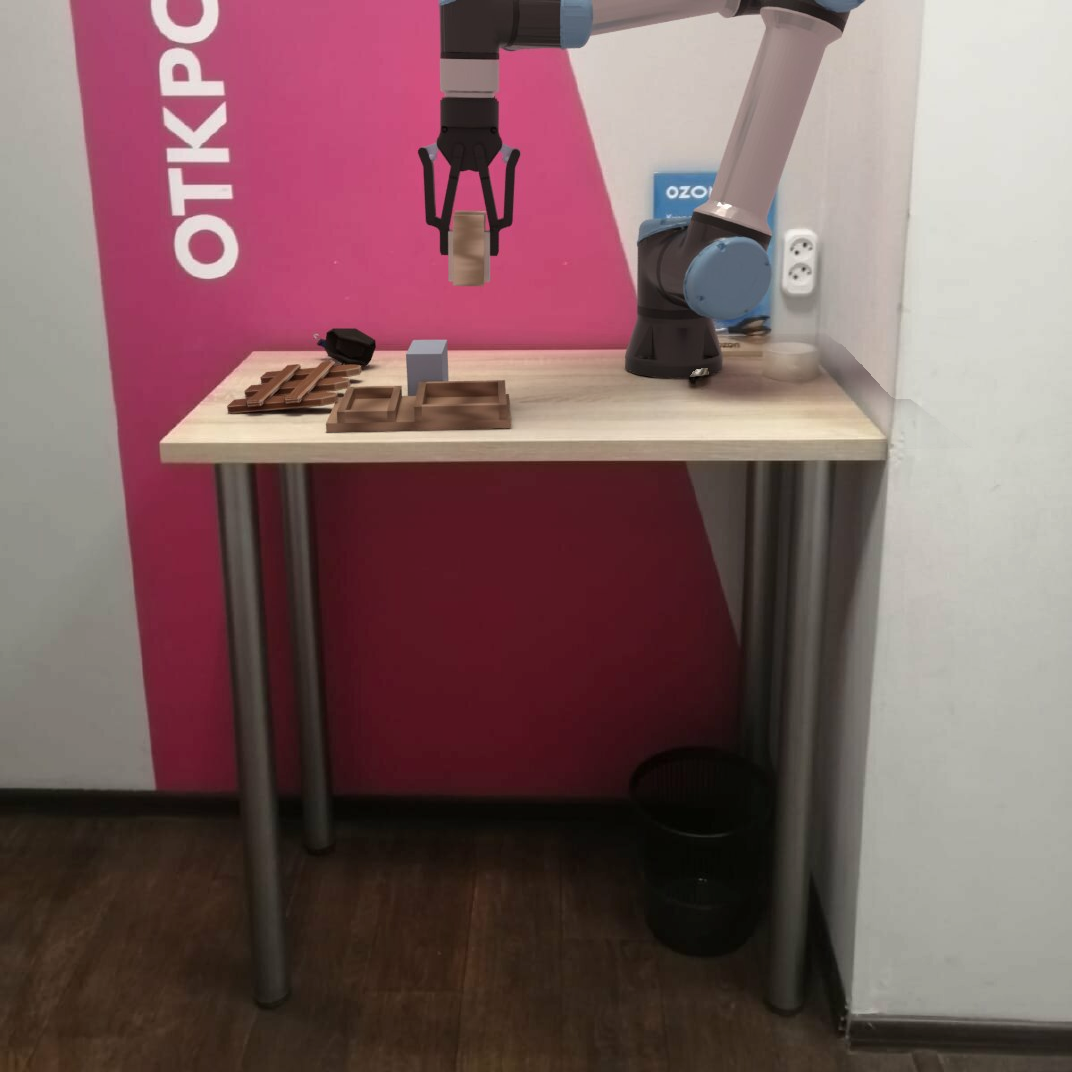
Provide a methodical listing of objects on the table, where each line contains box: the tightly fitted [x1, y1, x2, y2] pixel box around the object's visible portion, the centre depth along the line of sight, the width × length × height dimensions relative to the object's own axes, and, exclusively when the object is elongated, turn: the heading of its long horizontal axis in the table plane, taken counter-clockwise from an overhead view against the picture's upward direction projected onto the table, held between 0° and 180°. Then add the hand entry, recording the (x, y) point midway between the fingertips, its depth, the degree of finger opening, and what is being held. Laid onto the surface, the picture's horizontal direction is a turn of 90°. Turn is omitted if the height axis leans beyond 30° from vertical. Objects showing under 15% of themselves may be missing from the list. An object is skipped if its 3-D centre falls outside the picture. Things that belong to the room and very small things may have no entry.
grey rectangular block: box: [405, 339, 450, 396], centre depth 183 cm, size 5×10×7 cm, turn 179°
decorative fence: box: [226, 360, 363, 415], centre depth 184 cm, size 23×2×15 cm
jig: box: [325, 379, 512, 433], centre depth 171 cm, size 24×14×3 cm, turn 92°
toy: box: [313, 327, 377, 367], centre depth 203 cm, size 9×6×15 cm
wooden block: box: [452, 210, 487, 287], centre depth 168 cm, size 4×7×9 cm, turn 0°
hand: (469, 280), depth 170 cm, fingers closed on wooden block, 4 cm apart
